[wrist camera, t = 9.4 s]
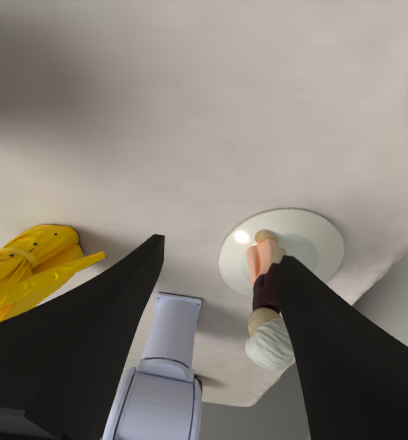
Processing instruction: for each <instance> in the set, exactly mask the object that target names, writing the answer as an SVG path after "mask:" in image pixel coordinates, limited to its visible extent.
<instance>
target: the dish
mask: <svg viewBox="0 0 408 440" xmlns="http://www.w3.org/2000/svg"><path fill="white" fill-rule="evenodd" d="M260 230H267V231H268V232H270V233H272V234H273V235H274V236H276V237H277V238H278V244H277V248H283V249H285V250H286V252H287V255H288V256H294V257H295V258H296V259H298V260H299V261H300V262H301V263H302V264H304V265H305V266H306V267H307V268H308V269H309V270H310V271H311V272H313V273H314V274H315V275H316V276H317V277H318V278H319V279H320V280H321V281H323V282H324V283H326V282H327V281H328V280H329V279H331V278H332V276H333V275H334V274H335V273H336V272H337V270H338V269H339V267H340V265H341V263H342V260H343V257H344V242H343V239H342V236H341V235H340V233H339V231H338V230H337V229H336V228H335V226H334V225H332V224H331V223H330V222H329V221H328V220H326V219H325V218H324V217H322V216H320V215H319V214H317V213H314V212H312V211H309V210H305V209H300V208H277V209H271V210H267V211H263V212H261V213H258V214H255V215H253V216H251V217H249V218H247V219H245V220H244V221H242V222H241V223H239V224H238V225H237V226H236V227H235V228H233V230H232V231H231V232H230V233H229V234H228V235H227V237H226V238H225V240H224V242H223V243H222V246H221V249H220V253H219V268H220V273H221V275H222V277H223V279H224V281H225V282H226V283H227V285H228V286H229V287H231V288H232V289H233V290H234V291H236V292H237V293H239V294H241V295H243V296H246V297H248V298H252V299H253V286H252V283H251V278H250V272H249V268H248V263H247V249H248V248H249V247H250V246H252V245H258V243H257V242H256V240H255V235H256V233H257V232H258V231H260Z"/></svg>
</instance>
